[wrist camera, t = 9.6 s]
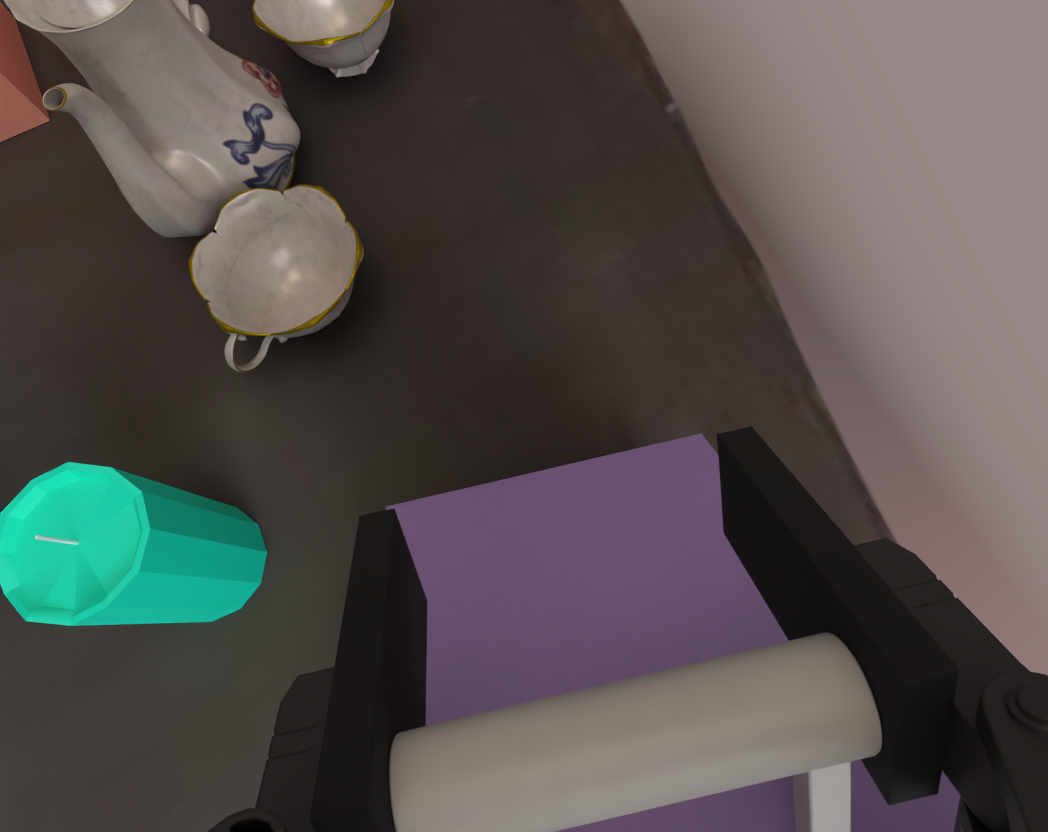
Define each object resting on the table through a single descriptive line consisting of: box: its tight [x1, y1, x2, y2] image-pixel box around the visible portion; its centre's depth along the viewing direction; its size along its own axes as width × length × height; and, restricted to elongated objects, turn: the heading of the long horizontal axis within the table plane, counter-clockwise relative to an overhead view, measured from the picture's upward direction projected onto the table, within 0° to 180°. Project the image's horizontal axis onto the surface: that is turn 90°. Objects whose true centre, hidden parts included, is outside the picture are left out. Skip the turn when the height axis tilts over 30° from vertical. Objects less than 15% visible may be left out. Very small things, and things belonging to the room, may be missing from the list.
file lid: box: [386, 434, 960, 832], centre depth 18 cm, size 17×13×5 cm
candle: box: [0, 462, 267, 626], centre depth 29 cm, size 6×6×12 cm
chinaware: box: [4, 0, 394, 372], centre depth 34 cm, size 28×17×17 cm, turn 2°
